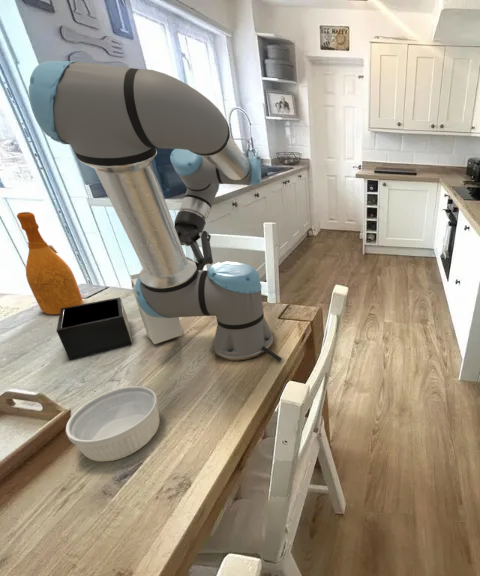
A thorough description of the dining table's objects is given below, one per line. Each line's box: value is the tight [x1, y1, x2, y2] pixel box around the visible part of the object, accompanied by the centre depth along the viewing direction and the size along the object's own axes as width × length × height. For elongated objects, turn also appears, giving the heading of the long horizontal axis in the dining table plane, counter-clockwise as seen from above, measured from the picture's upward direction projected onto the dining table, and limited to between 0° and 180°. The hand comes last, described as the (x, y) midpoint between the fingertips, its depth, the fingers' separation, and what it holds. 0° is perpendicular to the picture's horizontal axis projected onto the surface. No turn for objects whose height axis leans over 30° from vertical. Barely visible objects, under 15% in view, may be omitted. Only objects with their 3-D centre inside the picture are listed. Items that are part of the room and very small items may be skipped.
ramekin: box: [65, 385, 160, 462], centre depth 61 cm, size 13×13×7 cm
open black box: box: [56, 296, 133, 361], centre depth 86 cm, size 13×13×9 cm
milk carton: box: [130, 272, 184, 345], centre depth 88 cm, size 7×7×19 cm
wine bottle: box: [16, 211, 84, 315], centre depth 94 cm, size 10×10×30 cm
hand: (167, 282), depth 90 cm, fingers open, 13 cm apart
